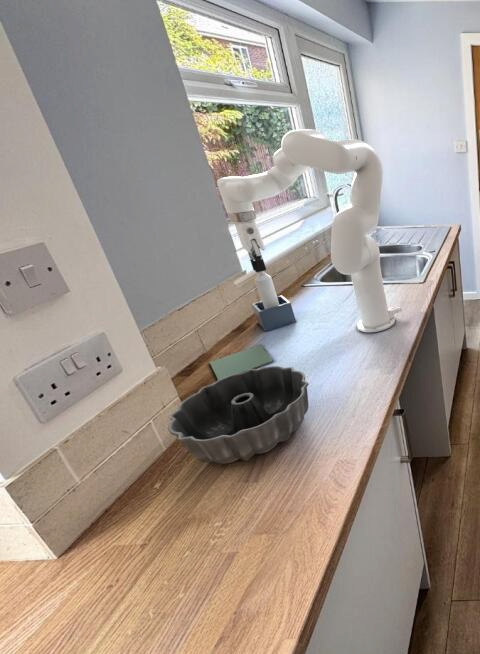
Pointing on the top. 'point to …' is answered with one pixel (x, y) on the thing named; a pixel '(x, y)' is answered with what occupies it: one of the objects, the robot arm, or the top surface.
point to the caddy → (274, 314)
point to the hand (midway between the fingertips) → (259, 269)
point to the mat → (240, 362)
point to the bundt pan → (241, 414)
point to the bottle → (266, 290)
